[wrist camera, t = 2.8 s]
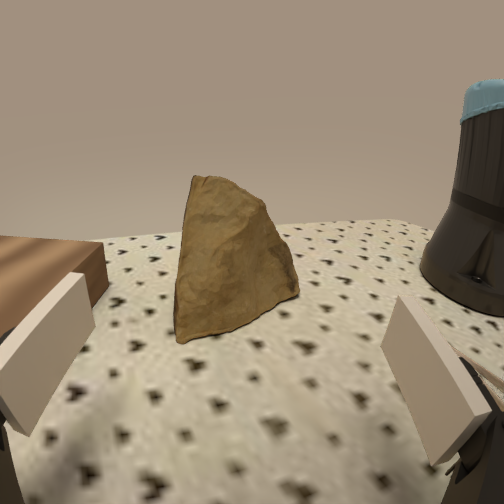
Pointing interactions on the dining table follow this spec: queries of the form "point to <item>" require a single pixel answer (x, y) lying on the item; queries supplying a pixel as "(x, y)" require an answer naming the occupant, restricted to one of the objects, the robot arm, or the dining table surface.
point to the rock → (228, 261)
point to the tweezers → (495, 380)
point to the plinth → (44, 272)
